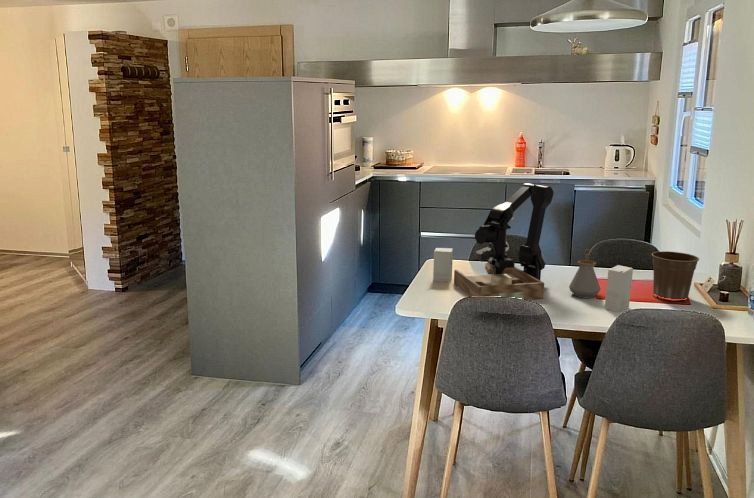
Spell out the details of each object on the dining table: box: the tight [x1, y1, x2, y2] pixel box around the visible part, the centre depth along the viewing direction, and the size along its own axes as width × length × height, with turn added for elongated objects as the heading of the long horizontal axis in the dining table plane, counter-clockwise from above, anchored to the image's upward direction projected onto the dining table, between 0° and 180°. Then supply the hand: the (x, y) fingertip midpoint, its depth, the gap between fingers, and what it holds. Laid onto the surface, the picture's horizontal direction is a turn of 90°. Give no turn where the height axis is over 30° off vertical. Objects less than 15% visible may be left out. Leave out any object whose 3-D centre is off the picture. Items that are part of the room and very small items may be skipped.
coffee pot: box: [568, 248, 602, 299], centre depth 258 cm, size 21×12×15 cm, turn 162°
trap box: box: [453, 266, 545, 300], centre depth 259 cm, size 26×26×6 cm
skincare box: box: [604, 264, 634, 313], centre depth 237 cm, size 8×6×15 cm
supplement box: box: [432, 247, 454, 283], centre depth 274 cm, size 7×7×13 cm
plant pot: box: [651, 250, 700, 299], centre depth 250 cm, size 16×16×16 cm
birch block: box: [490, 273, 512, 285], centre depth 254 cm, size 6×6×4 cm
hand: (496, 280), depth 259 cm, fingers closed
